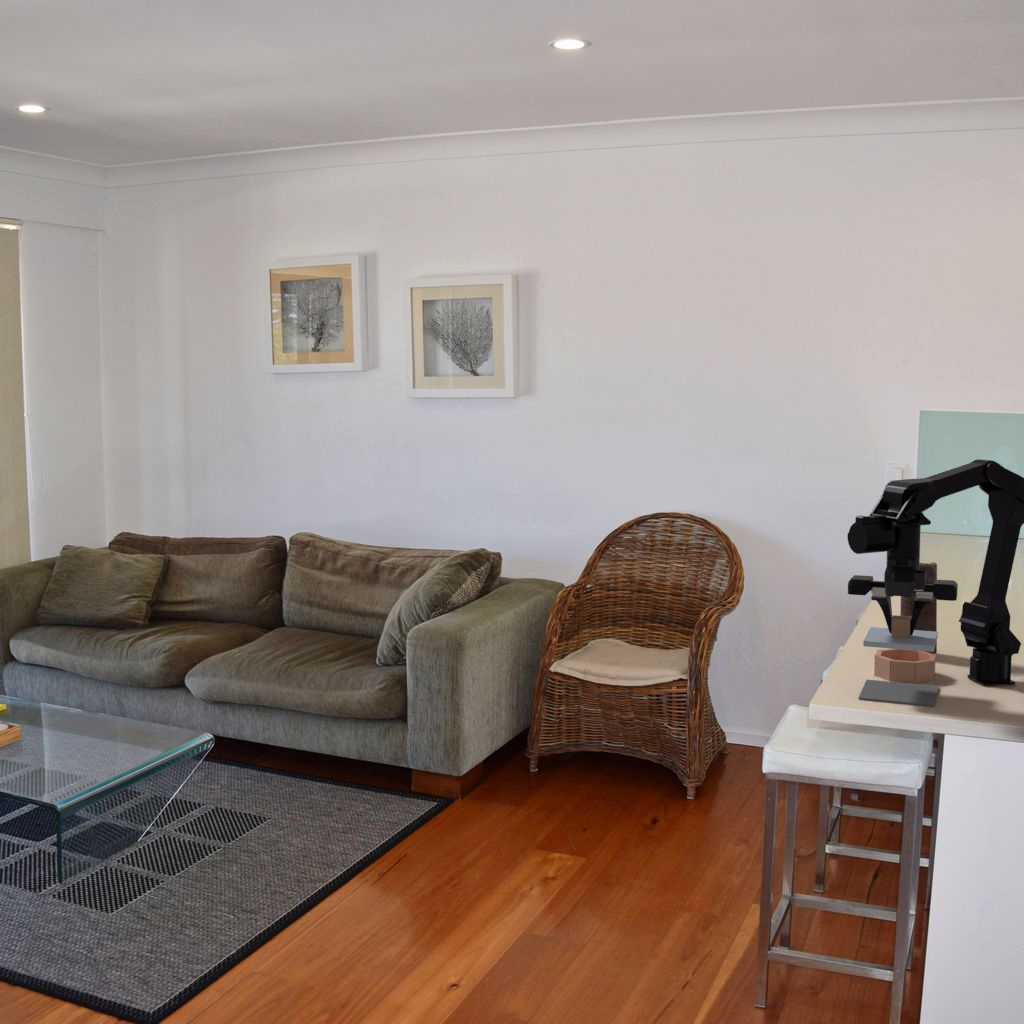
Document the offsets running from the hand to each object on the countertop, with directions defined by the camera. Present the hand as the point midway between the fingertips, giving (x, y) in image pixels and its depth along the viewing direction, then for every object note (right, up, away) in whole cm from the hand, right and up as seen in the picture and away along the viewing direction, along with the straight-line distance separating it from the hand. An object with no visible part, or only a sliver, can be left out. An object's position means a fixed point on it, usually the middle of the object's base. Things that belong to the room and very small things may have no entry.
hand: (901, 633), depth 205 cm
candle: (+14, -8, +30) cm, 34 cm away
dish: (+6, -10, +14) cm, 18 cm away
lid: (0, -2, 0) cm, 2 cm away
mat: (0, -11, +1) cm, 11 cm away
